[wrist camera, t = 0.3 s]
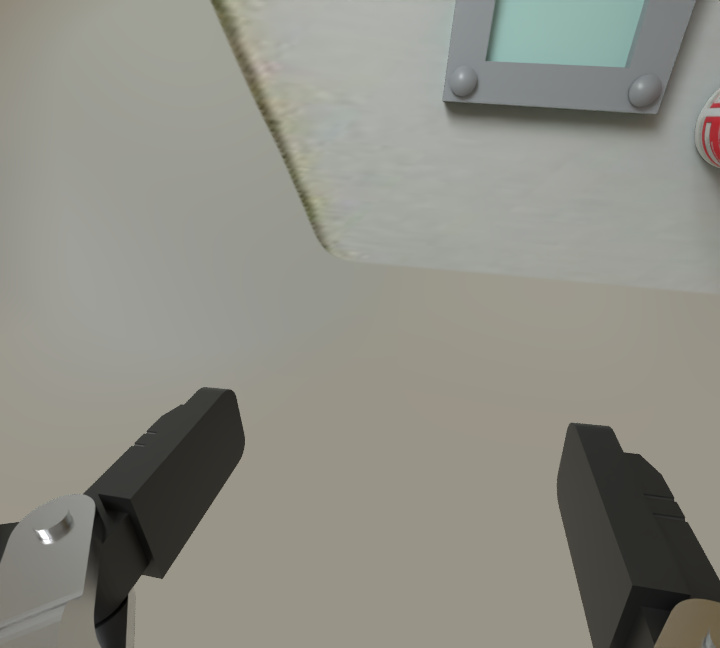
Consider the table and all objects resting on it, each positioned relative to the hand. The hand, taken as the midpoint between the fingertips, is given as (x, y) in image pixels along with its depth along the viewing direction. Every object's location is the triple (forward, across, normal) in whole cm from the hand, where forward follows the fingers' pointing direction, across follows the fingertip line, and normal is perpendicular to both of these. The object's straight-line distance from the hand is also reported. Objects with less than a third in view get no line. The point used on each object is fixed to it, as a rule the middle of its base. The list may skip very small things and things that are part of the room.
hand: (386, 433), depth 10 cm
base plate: (+28, -8, -14) cm, 32 cm away
